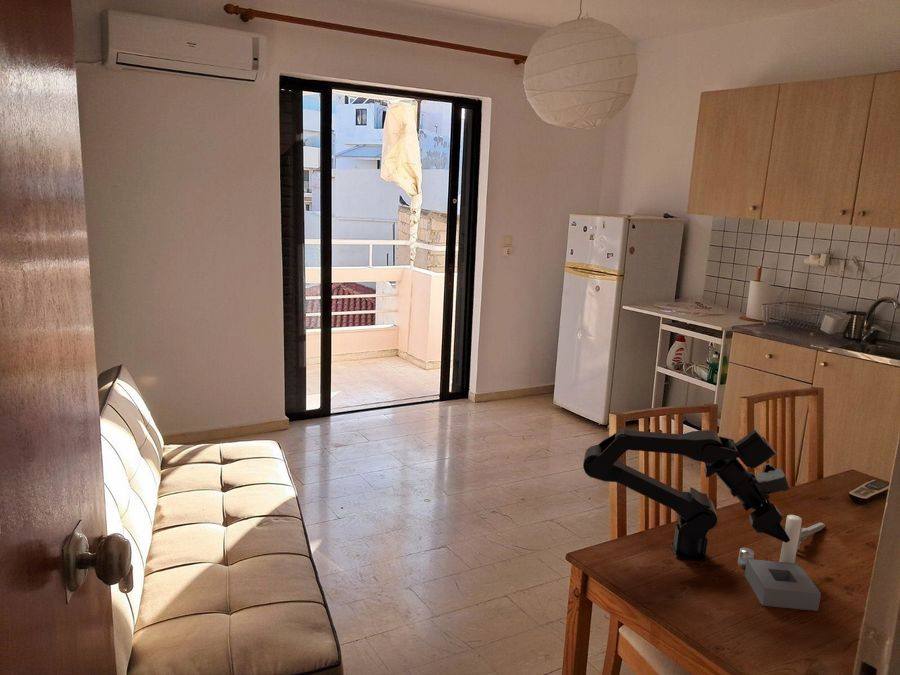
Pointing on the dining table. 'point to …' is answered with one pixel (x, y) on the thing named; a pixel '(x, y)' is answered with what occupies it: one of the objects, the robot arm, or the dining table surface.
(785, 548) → the ivory pin
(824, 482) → the dining table surface
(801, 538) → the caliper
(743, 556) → the short stub
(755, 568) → the hole block
